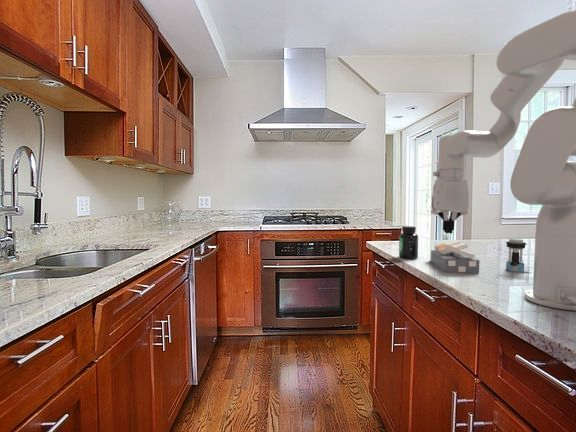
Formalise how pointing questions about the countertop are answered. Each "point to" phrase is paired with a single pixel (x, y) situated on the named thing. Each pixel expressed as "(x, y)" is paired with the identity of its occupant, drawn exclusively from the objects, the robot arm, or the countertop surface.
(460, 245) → the rocker
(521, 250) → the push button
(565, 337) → the countertop surface
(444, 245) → the rocker
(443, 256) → the console
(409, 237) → the supplement bottle
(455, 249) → the rocker
